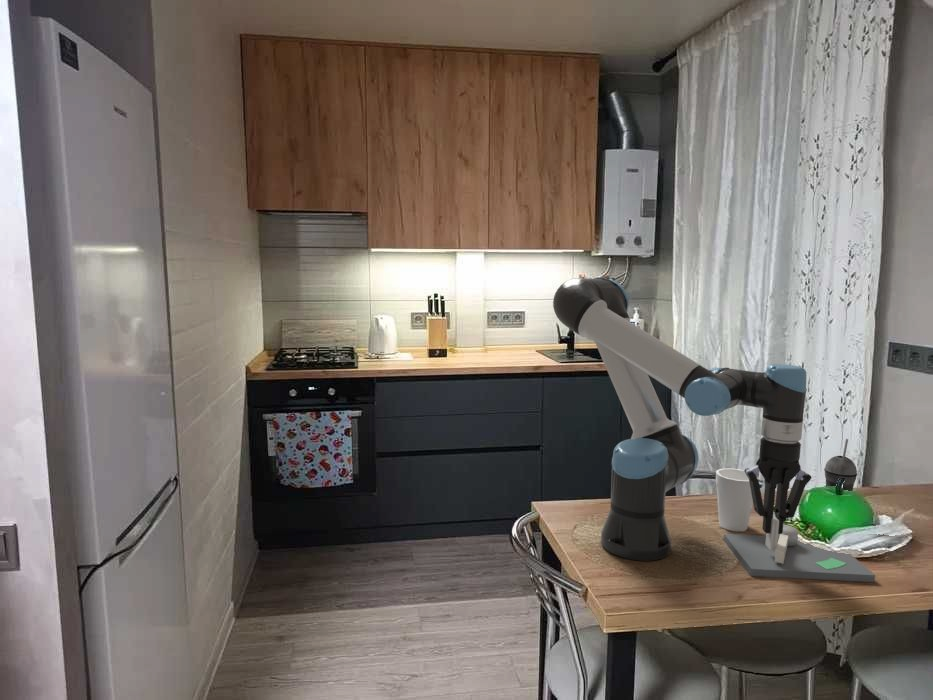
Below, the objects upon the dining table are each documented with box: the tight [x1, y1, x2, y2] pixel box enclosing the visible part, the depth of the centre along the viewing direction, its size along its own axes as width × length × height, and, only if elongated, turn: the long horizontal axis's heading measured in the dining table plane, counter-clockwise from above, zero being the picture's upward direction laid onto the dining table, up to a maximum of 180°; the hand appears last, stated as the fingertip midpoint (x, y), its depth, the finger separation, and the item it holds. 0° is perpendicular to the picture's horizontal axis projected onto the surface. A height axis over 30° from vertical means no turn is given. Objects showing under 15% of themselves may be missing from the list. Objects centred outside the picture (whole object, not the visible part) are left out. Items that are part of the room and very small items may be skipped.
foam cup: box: [715, 467, 759, 532], centre depth 150 cm, size 10×9×13 cm
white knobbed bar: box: [775, 524, 799, 564], centre depth 133 cm, size 15×5×3 cm, turn 148°
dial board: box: [722, 533, 876, 583], centre depth 133 cm, size 24×17×2 cm
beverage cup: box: [823, 438, 858, 492], centre depth 157 cm, size 7×7×20 cm
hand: (770, 547), depth 131 cm, fingers closed
